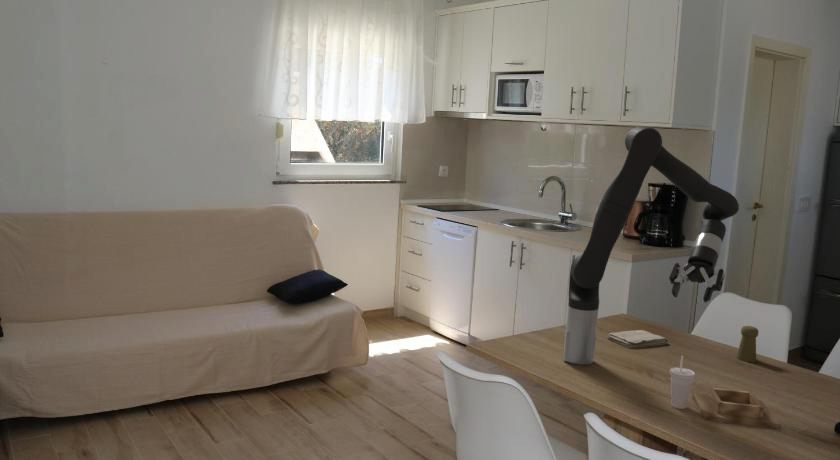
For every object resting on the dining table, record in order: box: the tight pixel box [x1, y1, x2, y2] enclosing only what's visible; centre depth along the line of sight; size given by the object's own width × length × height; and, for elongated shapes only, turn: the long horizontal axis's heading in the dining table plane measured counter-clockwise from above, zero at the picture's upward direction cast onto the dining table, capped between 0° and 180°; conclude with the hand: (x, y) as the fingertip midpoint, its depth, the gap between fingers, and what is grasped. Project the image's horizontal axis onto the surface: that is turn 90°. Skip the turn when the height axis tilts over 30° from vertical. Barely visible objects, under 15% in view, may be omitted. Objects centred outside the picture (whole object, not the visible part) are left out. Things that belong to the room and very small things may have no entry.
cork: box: [735, 325, 759, 363], centre depth 237 cm, size 6×6×11 cm
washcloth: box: [606, 329, 668, 349], centre depth 251 cm, size 12×18×3 cm, turn 118°
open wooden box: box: [691, 387, 781, 430], centre depth 192 cm, size 18×16×4 cm
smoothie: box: [669, 355, 696, 410], centre depth 193 cm, size 6×6×14 cm
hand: (689, 298), depth 205 cm, fingers open, 8 cm apart
